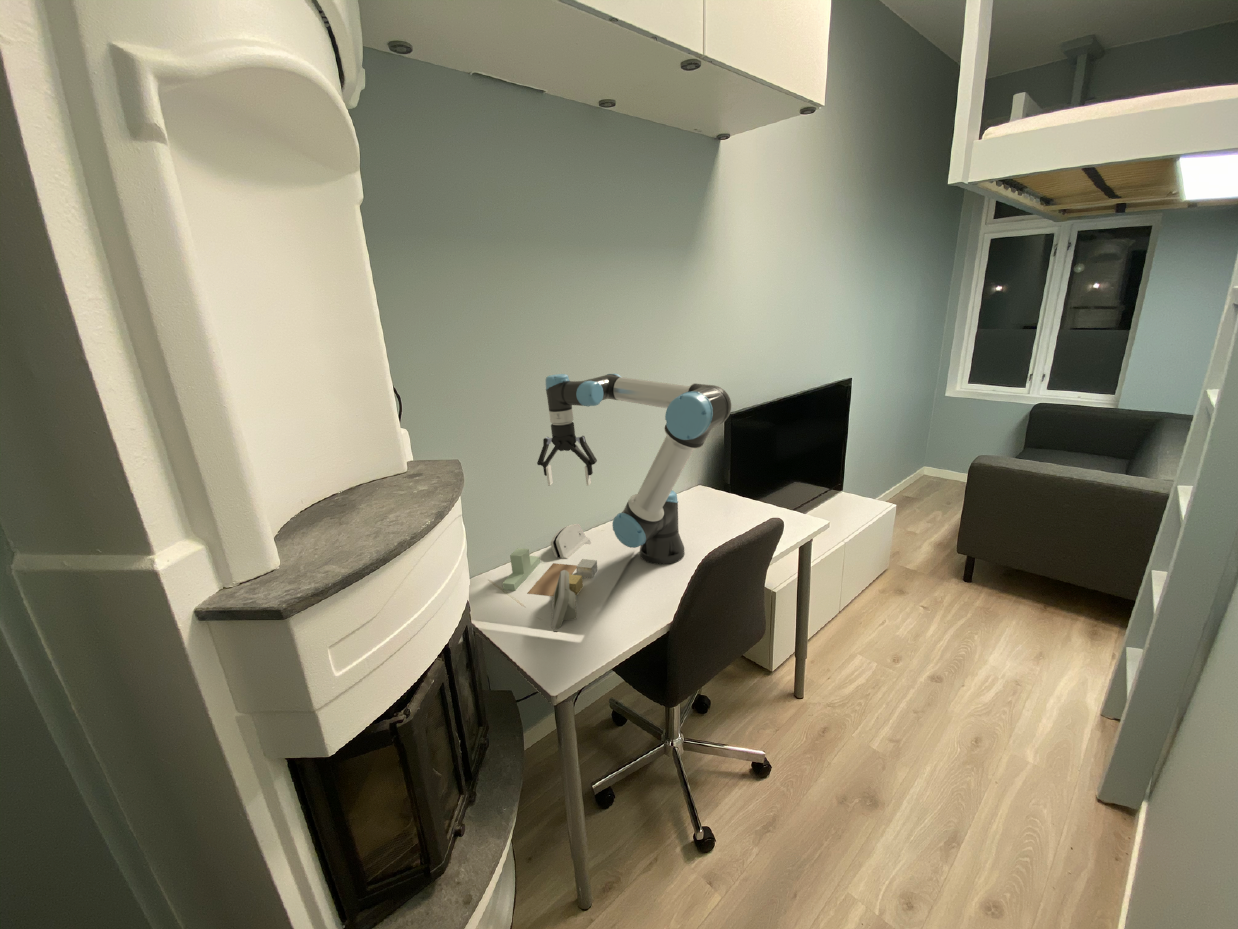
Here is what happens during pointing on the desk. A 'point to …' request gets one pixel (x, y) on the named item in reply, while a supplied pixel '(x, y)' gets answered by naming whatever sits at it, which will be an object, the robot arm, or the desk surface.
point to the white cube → (587, 568)
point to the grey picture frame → (563, 602)
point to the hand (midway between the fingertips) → (569, 484)
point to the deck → (550, 579)
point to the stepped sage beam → (520, 568)
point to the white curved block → (568, 541)
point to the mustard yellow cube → (575, 583)
